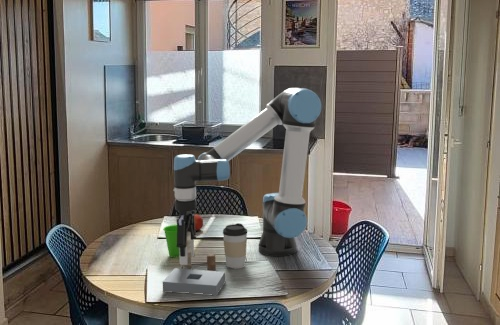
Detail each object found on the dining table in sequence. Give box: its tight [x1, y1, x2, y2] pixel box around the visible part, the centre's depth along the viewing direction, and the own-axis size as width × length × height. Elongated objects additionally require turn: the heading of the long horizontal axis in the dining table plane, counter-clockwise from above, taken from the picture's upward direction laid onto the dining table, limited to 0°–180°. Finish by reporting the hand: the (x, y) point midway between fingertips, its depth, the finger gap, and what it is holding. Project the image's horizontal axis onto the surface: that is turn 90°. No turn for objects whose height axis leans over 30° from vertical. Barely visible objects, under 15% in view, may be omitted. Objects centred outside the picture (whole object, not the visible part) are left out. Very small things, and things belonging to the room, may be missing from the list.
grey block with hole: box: [162, 267, 226, 296], centre depth 181 cm, size 18×12×4 cm, turn 79°
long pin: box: [182, 231, 192, 269], centre depth 195 cm, size 3×3×14 cm
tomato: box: [194, 213, 204, 232], centre depth 242 cm, size 9×9×8 cm
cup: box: [163, 224, 180, 258], centre depth 211 cm, size 9×9×11 cm
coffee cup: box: [222, 223, 248, 269], centre depth 200 cm, size 9×9×15 cm
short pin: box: [206, 253, 217, 271], centre depth 194 cm, size 3×3×6 cm
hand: (187, 260), depth 196 cm, fingers open, 7 cm apart
